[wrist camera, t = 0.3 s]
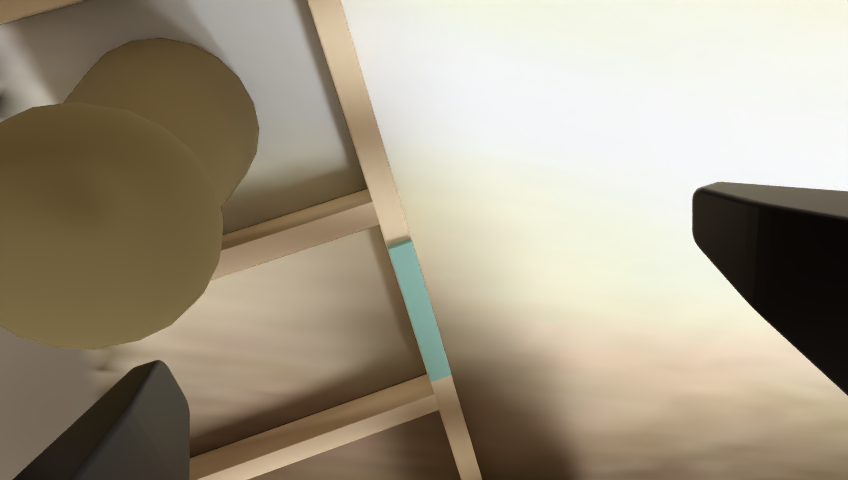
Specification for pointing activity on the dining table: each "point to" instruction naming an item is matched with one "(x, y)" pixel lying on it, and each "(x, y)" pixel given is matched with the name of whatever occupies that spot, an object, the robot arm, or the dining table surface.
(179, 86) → the cork
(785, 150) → the dining table surface
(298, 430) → the notch rack
